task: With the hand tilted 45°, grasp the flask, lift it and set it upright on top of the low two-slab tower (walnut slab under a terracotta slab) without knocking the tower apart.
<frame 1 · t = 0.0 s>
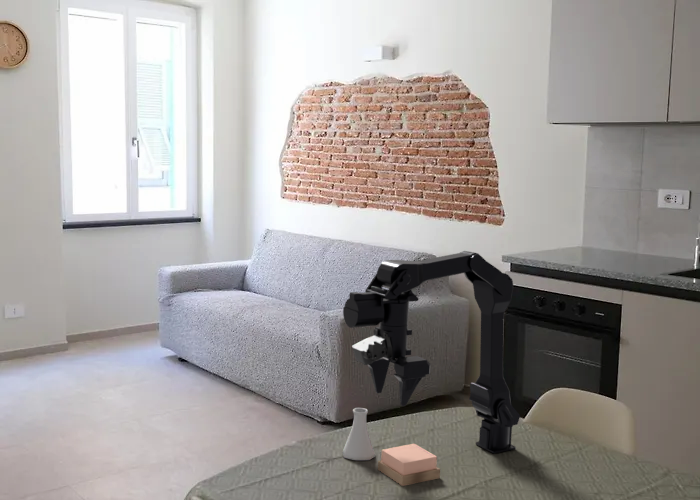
hand: (390, 399, 164), 15 cm above the table, tool pointing down, fingers open, 9 cm apart
terracotta slab: (408, 465, 163), point 2 cm above the table, touching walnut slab
flask: (358, 456, 173), on the table
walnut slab: (408, 476, 163), on the table, touching terracotta slab
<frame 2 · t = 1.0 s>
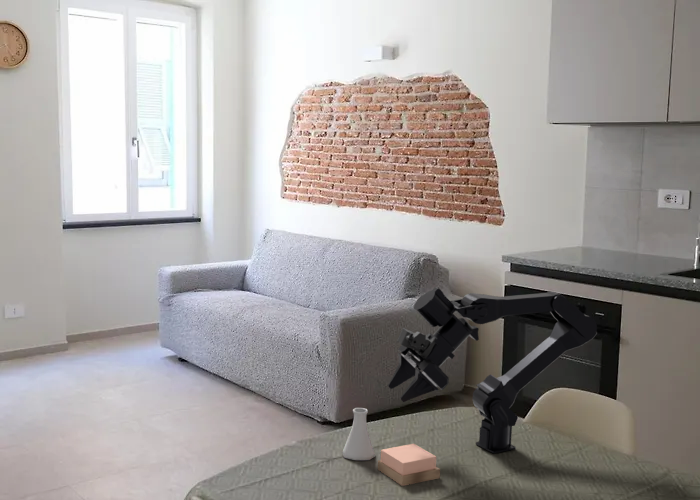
hand: (395, 393, 172), 13 cm above the table, tool tilted 45°, fingers open, 9 cm apart
nothing on the table moved.
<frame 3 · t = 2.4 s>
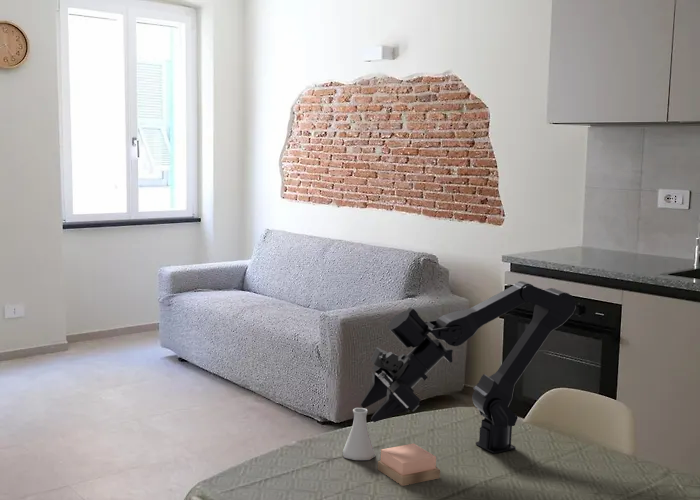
hand: (367, 413, 172), 9 cm above the table, tool tilted 45°, fingers open, 9 cm apart
nothing on the table moved.
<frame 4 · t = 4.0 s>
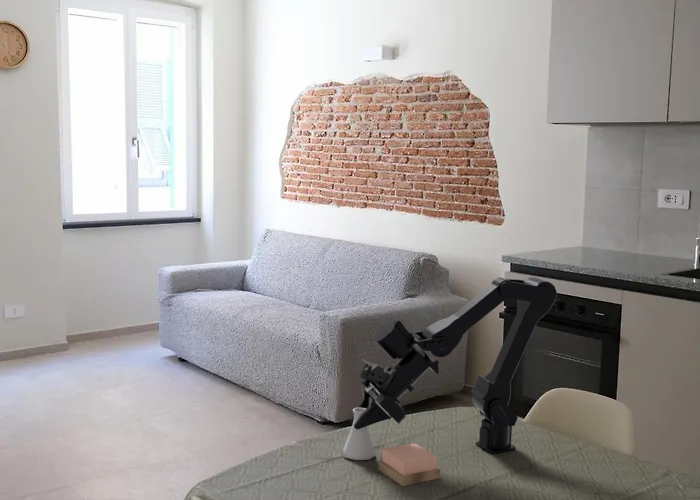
hand: (353, 425, 171), 7 cm above the table, tool tilted 45°, fingers closed on flask, 3 cm apart
flask: (358, 455, 173), on the table, touching gripper
everything else where it was.
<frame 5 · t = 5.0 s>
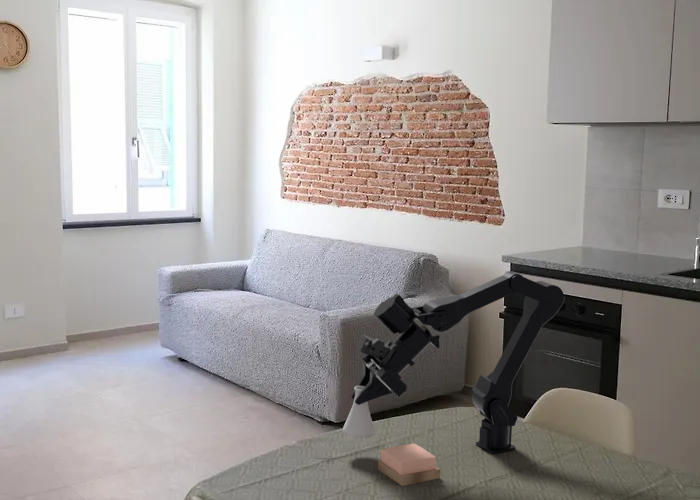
hand: (354, 400, 171), 12 cm above the table, tool tilted 45°, fingers closed on flask, 3 cm apart
flask: (358, 434, 172), point 5 cm above the table, touching gripper
everything else where it was.
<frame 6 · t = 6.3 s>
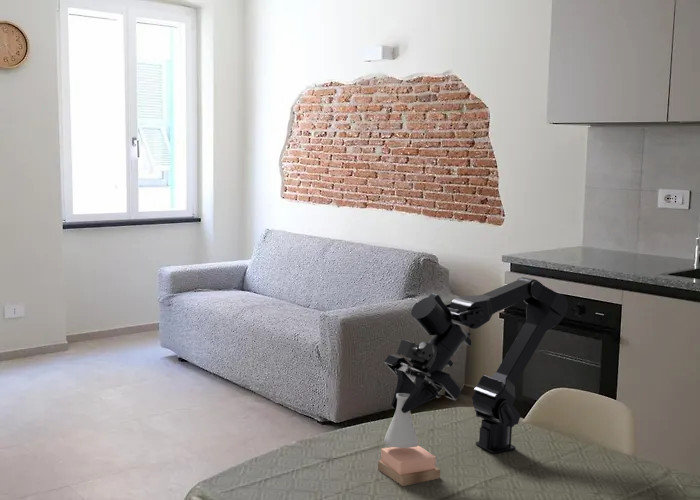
hand: (397, 409, 162), 13 cm above the table, tool tilted 45°, fingers closed on flask, 3 cm apart
flask: (400, 444, 164), point 6 cm above the table, touching gripper
everything else where it was.
when the fingers open (13 cm above the table, at t = 7.1 s): flask drops 1 cm, resting on terracotta slab.
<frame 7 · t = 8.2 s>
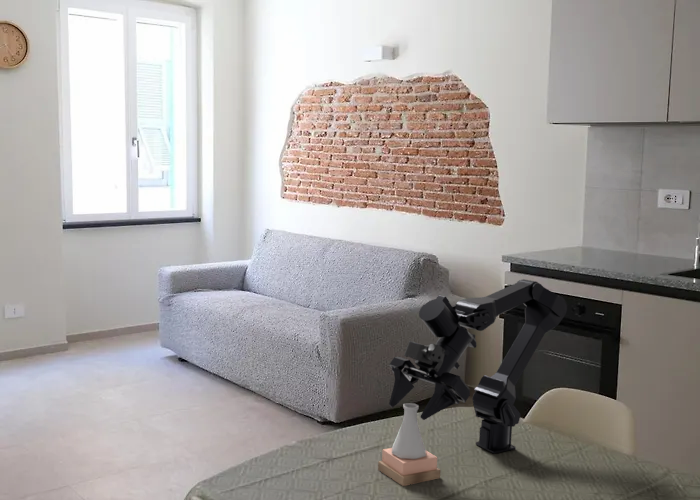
hand: (405, 412, 161), 13 cm above the table, tool tilted 45°, fingers open, 9 cm apart
terracotta slab: (409, 465, 163), point 2 cm above the table, touching flask, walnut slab
flask: (408, 454, 163), point 4 cm above the table, touching terracotta slab
everything else where it was.
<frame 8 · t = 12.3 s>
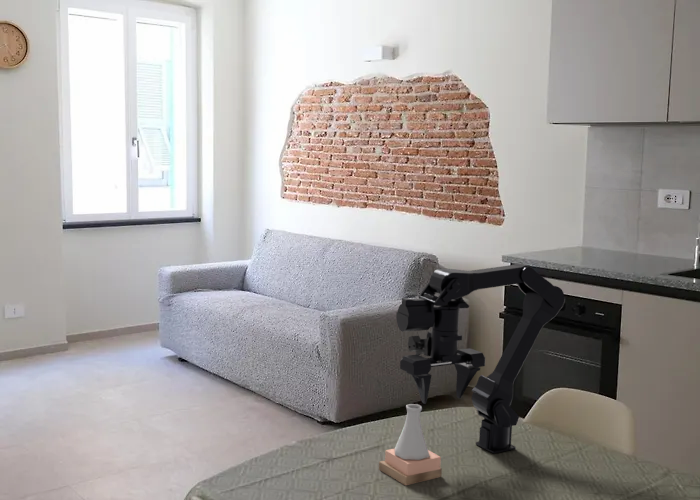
hand: (441, 400, 173), 12 cm above the table, tool pointing down, fingers open, 9 cm apart
nothing on the table moved.
at the end: flask 0.4 cm off-centre on the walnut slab, point 4.8 cm above the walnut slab's base; flask tilted 0°; terracotta slab moved 1.2 cm from its start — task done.
